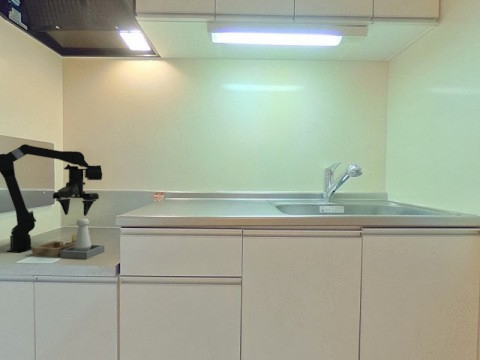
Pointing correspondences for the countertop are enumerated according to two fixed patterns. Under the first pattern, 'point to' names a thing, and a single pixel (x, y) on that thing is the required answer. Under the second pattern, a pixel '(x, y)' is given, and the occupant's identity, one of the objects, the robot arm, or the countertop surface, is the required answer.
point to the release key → (72, 239)
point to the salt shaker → (83, 236)
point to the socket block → (51, 249)
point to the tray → (81, 252)
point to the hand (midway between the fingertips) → (75, 215)
